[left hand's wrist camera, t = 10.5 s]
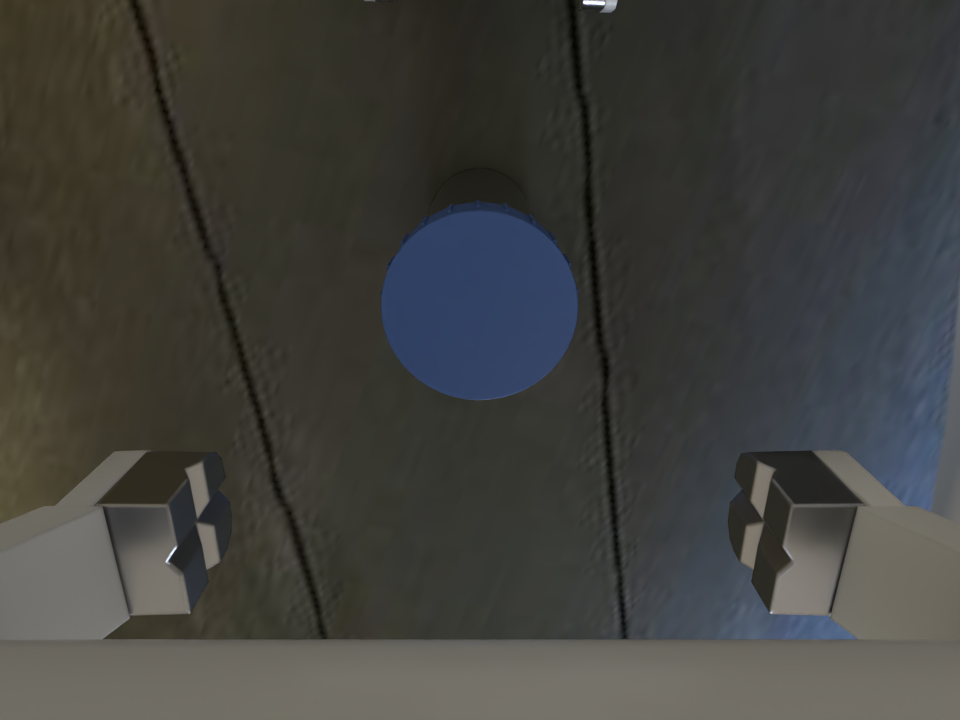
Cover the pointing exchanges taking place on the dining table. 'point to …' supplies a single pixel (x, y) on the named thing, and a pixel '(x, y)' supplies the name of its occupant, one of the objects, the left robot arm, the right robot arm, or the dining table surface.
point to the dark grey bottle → (479, 191)
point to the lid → (479, 301)
